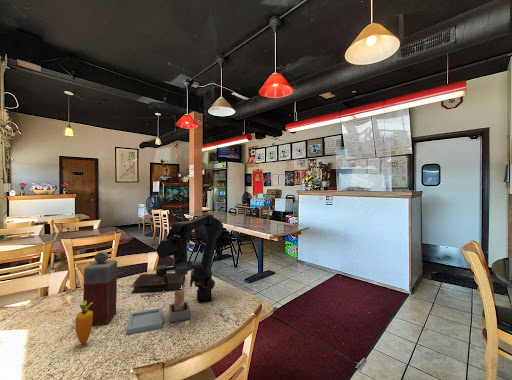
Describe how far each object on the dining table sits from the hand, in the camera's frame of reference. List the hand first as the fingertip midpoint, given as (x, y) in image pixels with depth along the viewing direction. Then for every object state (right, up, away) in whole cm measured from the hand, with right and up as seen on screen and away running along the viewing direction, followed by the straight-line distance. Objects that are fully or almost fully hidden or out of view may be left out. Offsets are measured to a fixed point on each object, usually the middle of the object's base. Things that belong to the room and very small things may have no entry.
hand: (179, 288), depth 99 cm
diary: (-21, -12, +31) cm, 40 cm away
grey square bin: (0, -12, 0) cm, 12 cm away
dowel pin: (0, -11, 0) cm, 11 cm away
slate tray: (-12, -12, -5) cm, 18 cm away
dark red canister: (-32, -12, -3) cm, 34 cm away
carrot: (-27, -12, -19) cm, 35 cm away
